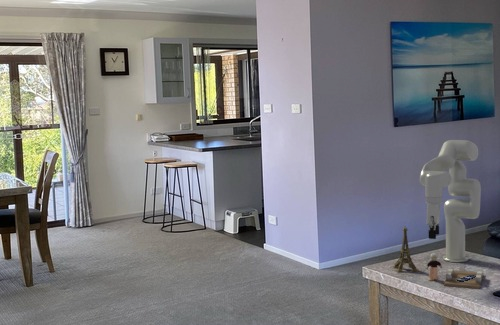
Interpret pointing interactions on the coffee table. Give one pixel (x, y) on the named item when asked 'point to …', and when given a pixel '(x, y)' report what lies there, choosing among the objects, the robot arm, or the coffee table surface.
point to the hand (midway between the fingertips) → (433, 236)
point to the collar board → (454, 275)
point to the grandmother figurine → (433, 267)
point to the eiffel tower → (402, 258)
